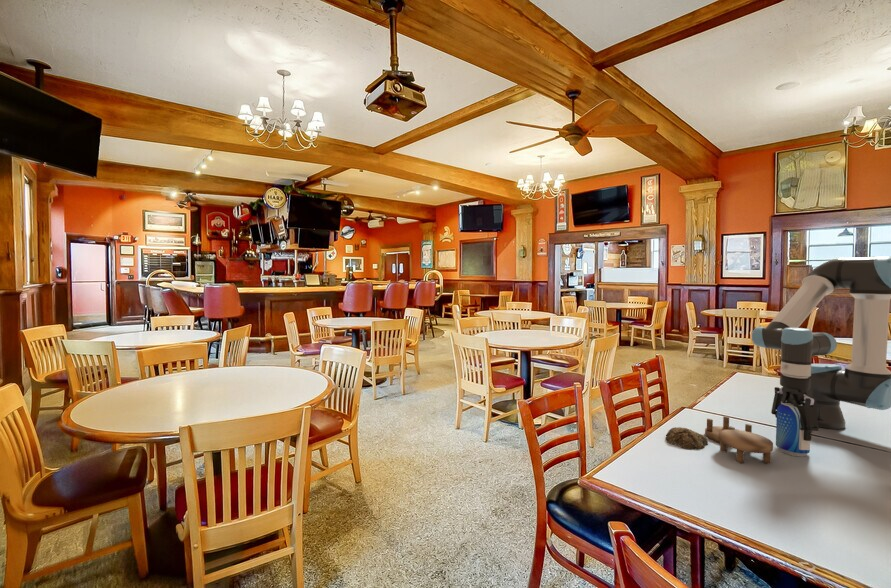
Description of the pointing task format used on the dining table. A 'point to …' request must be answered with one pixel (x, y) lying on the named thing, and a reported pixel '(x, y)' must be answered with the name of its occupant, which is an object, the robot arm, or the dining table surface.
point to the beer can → (789, 430)
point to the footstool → (745, 444)
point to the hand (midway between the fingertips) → (792, 443)
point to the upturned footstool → (713, 431)
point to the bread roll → (686, 438)
